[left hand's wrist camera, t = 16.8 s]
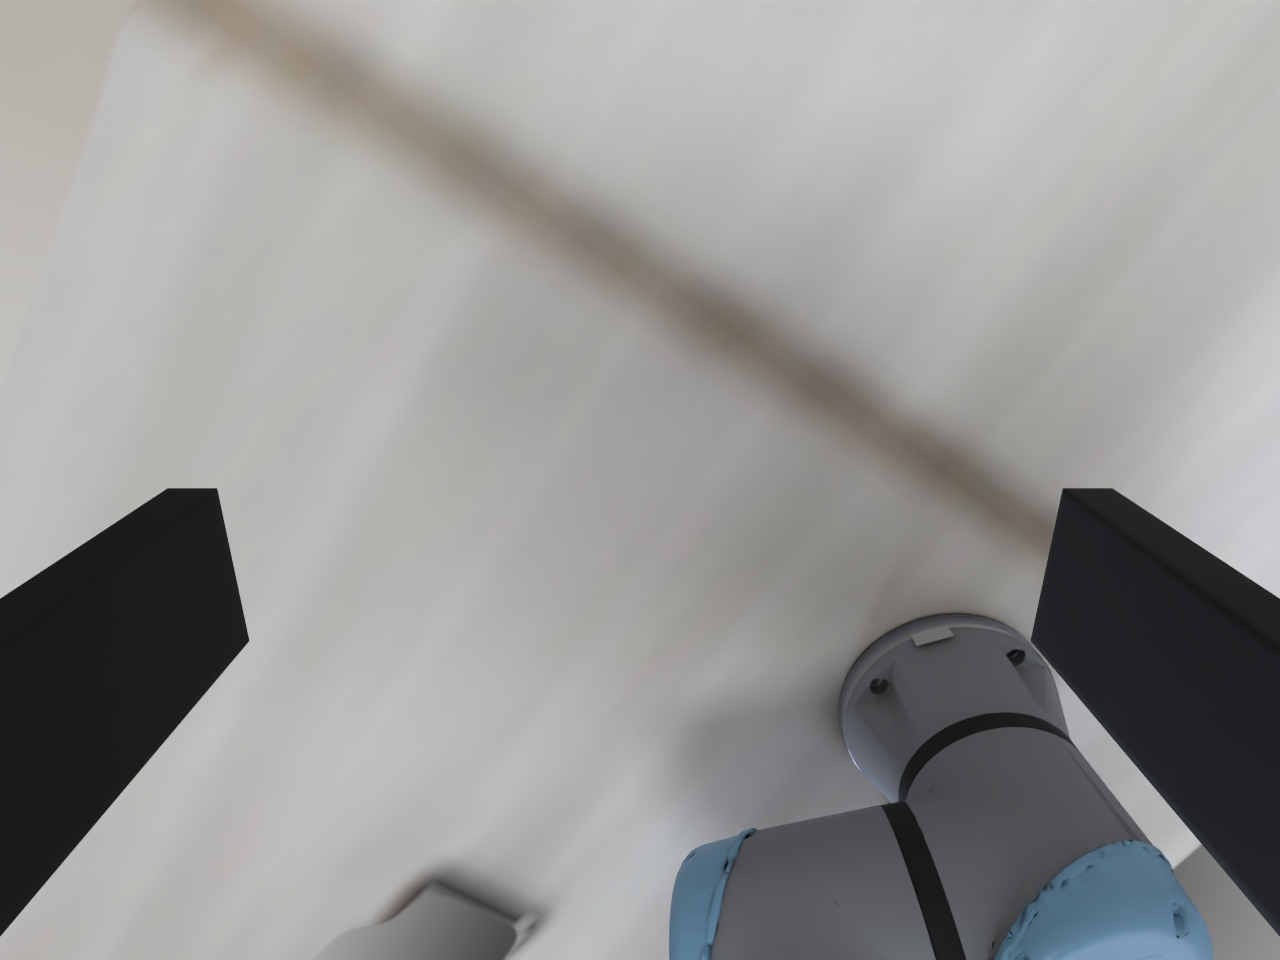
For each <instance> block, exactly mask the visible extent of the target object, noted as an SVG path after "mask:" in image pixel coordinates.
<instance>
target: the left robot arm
mask: <svg viewBox="0 0 1280 960" xmlns="http://www.w3.org/2000/svg"><path fill="white" fill-rule="evenodd" d="M248 642H249V637H248V633H247V628H246V623H245V618H244V614H243V609H242V604H241V599H240V595H239V590H238V585H237V580H236V576H235V571H234V566H233V562H232V557H231V552H230V547H229V543H228V538H227V533H226V528H225V524H224V519H223V514H222V509H221V505H220V500H219V495H218V491H217V488H168V489H166V490H165V491H163V492H162V493H160V494H159V495H157V496H156V497H154V498H152V499H151V500H149V501H148V502H146V503H145V504H143V505H142V506H140V507H139V508H137V509H136V510H134V511H133V512H131V513H130V514H128V515H127V516H125V517H124V518H122V519H121V520H119V521H118V522H116V523H115V524H113V525H112V526H110V527H108V528H107V529H105V530H104V531H102V532H101V533H99V534H98V535H96V536H95V537H93V538H92V539H90V540H89V541H87V542H86V543H84V544H83V545H81V546H80V547H78V548H77V549H75V550H74V551H72V552H71V553H69V554H68V555H66V556H64V557H63V558H61V559H60V560H58V561H57V562H55V563H54V564H52V565H51V566H49V567H48V568H46V569H45V570H43V571H42V572H40V573H39V574H37V575H36V576H34V577H33V578H31V579H30V580H28V581H27V582H25V583H24V584H22V585H20V586H19V587H17V588H16V589H14V590H13V591H11V592H10V593H8V594H7V595H5V596H4V597H2V598H1V599H0V936H1V935H2V934H3V933H4V931H5V930H6V929H7V928H8V927H9V925H10V924H11V923H12V922H13V921H14V919H15V918H16V917H17V916H18V915H19V914H20V912H21V911H22V910H23V909H24V908H25V906H26V905H27V904H28V903H29V902H30V900H31V899H32V898H33V897H34V896H35V895H36V893H37V892H38V891H39V890H40V889H41V887H42V886H43V885H44V884H45V883H46V881H47V880H48V879H49V878H50V877H51V876H52V874H53V873H54V872H55V871H56V870H57V868H58V867H59V866H60V865H61V864H62V862H63V861H64V860H65V859H66V858H67V857H68V855H69V854H70V853H71V852H72V851H73V849H74V848H75V847H76V846H77V845H78V843H79V842H80V841H81V840H82V839H83V838H84V836H85V835H86V834H87V833H88V832H89V830H90V829H91V828H92V827H93V826H94V825H95V823H96V822H97V821H98V820H99V819H100V817H101V816H102V815H103V814H104V813H105V811H106V810H107V809H108V808H109V807H110V806H111V804H112V803H113V802H114V801H115V800H116V798H117V797H118V796H119V795H120V794H121V792H122V791H123V790H124V789H125V788H126V787H127V785H128V784H129V783H130V782H131V781H132V779H133V778H134V777H135V776H136V775H137V773H138V772H139V771H140V770H141V769H142V768H143V766H144V765H145V764H146V763H147V762H148V760H149V759H150V758H151V757H152V756H153V754H154V753H155V752H156V751H157V750H158V749H159V747H160V746H161V745H162V744H163V743H164V741H165V740H166V739H167V738H168V737H169V736H170V734H171V733H172V732H173V731H174V730H175V728H176V727H177V726H178V725H179V724H180V722H181V721H182V720H183V719H184V718H185V717H186V715H187V714H188V713H189V712H190V711H191V709H192V708H193V707H194V706H195V705H196V703H197V702H198V701H199V700H200V699H201V698H202V696H203V695H204V694H205V693H206V692H207V690H208V689H209V688H210V687H211V686H212V684H213V683H214V682H215V681H216V680H217V679H218V677H219V676H220V675H221V674H222V673H223V671H224V670H225V669H226V668H227V667H228V665H229V664H230V663H231V662H232V661H233V660H234V658H235V657H236V656H237V655H238V654H239V652H240V651H241V650H242V649H243V648H244V647H245V645H246V644H247V643H248ZM1031 642H1032V643H1033V644H1034V645H1035V647H1036V648H1037V649H1038V650H1039V651H1040V652H1041V654H1042V655H1043V656H1044V657H1045V658H1046V660H1047V661H1048V662H1049V663H1050V664H1051V665H1052V667H1053V668H1054V669H1055V670H1056V671H1057V673H1058V674H1059V675H1060V676H1061V677H1062V679H1063V680H1064V681H1065V682H1066V683H1067V684H1068V686H1069V687H1070V688H1071V689H1072V690H1073V692H1074V693H1075V694H1076V695H1077V696H1078V698H1079V699H1080V700H1081V701H1082V702H1083V703H1084V705H1085V706H1086V707H1087V708H1088V709H1089V711H1090V712H1091V713H1092V714H1093V715H1094V717H1095V718H1096V719H1097V720H1098V721H1099V722H1100V724H1101V725H1102V726H1103V727H1104V728H1105V730H1106V731H1107V732H1108V733H1109V734H1110V736H1111V737H1112V738H1113V739H1114V740H1115V741H1116V743H1117V744H1118V745H1119V746H1120V747H1121V749H1122V750H1123V751H1124V752H1125V753H1126V754H1127V756H1128V757H1129V758H1130V759H1131V760H1132V762H1133V763H1134V764H1135V765H1136V766H1137V768H1138V769H1139V770H1140V771H1141V772H1142V773H1143V775H1144V776H1145V777H1146V778H1147V779H1148V781H1149V782H1150V783H1151V784H1152V785H1153V787H1154V788H1155V789H1156V790H1157V791H1158V792H1159V794H1160V795H1161V796H1162V797H1163V798H1164V800H1165V801H1166V802H1167V803H1168V804H1169V806H1170V807H1171V808H1172V809H1173V810H1174V811H1175V813H1176V814H1177V815H1178V816H1179V817H1180V819H1181V820H1182V821H1183V822H1184V823H1185V825H1186V826H1187V827H1188V828H1189V829H1190V830H1191V832H1192V833H1193V834H1194V835H1195V836H1196V838H1197V839H1198V840H1199V841H1200V842H1201V843H1202V845H1203V846H1204V847H1205V848H1206V849H1207V851H1208V852H1209V853H1210V854H1211V855H1212V856H1213V858H1214V859H1215V860H1216V861H1217V862H1218V864H1219V865H1220V866H1221V867H1222V868H1223V870H1224V871H1225V872H1226V873H1227V874H1228V876H1229V877H1230V878H1231V879H1232V880H1233V881H1234V883H1235V884H1236V885H1237V886H1238V887H1239V889H1240V890H1241V891H1242V892H1243V893H1244V895H1245V896H1246V897H1247V898H1248V899H1249V900H1250V902H1251V903H1252V904H1253V905H1254V906H1255V908H1256V909H1257V910H1258V911H1259V912H1260V914H1261V915H1262V916H1263V917H1264V918H1265V919H1266V921H1267V922H1268V923H1269V924H1270V925H1271V927H1272V928H1273V929H1274V930H1275V931H1276V932H1277V934H1278V935H1279V936H1280V599H1279V598H1278V597H1276V596H1275V595H1273V594H1272V593H1270V592H1269V591H1267V590H1266V589H1264V588H1263V587H1261V586H1260V585H1258V584H1256V583H1255V582H1253V581H1252V580H1250V579H1249V578H1247V577H1246V576H1244V575H1243V574H1241V573H1240V572H1238V571H1237V570H1235V569H1234V568H1232V567H1231V566H1229V565H1228V564H1226V563H1225V562H1223V561H1222V560H1220V559H1219V558H1217V557H1216V556H1214V555H1212V554H1211V553H1209V552H1208V551H1206V550H1205V549H1203V548H1202V547H1200V546H1199V545H1197V544H1196V543H1194V542H1193V541H1191V540H1190V539H1188V538H1187V537H1185V536H1184V535H1182V534H1181V533H1179V532H1178V531H1176V530H1175V529H1173V528H1172V527H1170V526H1168V525H1167V524H1165V523H1164V522H1162V521H1161V520H1159V519H1158V518H1156V517H1155V516H1153V515H1152V514H1150V513H1149V512H1147V511H1146V510H1144V509H1143V508H1141V507H1140V506H1138V505H1137V504H1135V503H1134V502H1132V501H1131V500H1129V499H1128V498H1126V497H1124V496H1123V495H1121V494H1120V493H1118V492H1117V491H1115V490H1114V489H1112V488H1063V491H1062V495H1061V500H1060V505H1059V509H1058V514H1057V519H1056V524H1055V528H1054V533H1053V538H1052V543H1051V547H1050V552H1049V557H1048V562H1047V566H1046V571H1045V576H1044V580H1043V585H1042V590H1041V595H1040V599H1039V604H1038V609H1037V614H1036V618H1035V623H1034V628H1033V633H1032V637H1031ZM838 714H839V724H840V728H841V732H842V735H843V738H844V740H845V743H846V746H847V748H848V751H849V753H850V756H851V757H852V759H853V761H854V763H855V764H856V765H857V767H858V768H859V769H860V770H861V772H862V773H863V774H864V775H865V777H866V778H867V779H868V780H869V781H870V782H871V783H872V784H873V785H874V786H875V787H876V788H877V789H878V790H879V791H880V792H881V793H882V794H883V795H884V796H885V797H886V798H887V799H888V800H889V801H890V802H891V804H886V805H879V806H874V807H869V808H864V809H860V810H855V811H850V812H845V813H840V814H835V815H830V816H825V817H820V818H815V819H811V820H806V821H801V822H796V823H791V824H786V825H781V826H776V827H771V828H767V829H762V830H757V829H755V828H752V829H747V830H745V831H743V832H742V833H741V834H740V835H739V836H735V837H731V838H727V839H724V840H720V841H716V842H712V843H709V844H705V845H701V846H699V847H697V848H696V849H694V850H693V851H691V852H690V853H689V855H688V856H687V857H686V859H685V860H684V861H683V863H682V865H681V868H680V869H679V872H678V873H677V876H676V880H675V884H674V889H673V894H672V901H671V911H670V927H669V960H1214V958H1213V946H1212V941H1211V937H1210V934H1209V931H1208V928H1207V926H1206V924H1205V922H1204V920H1203V918H1202V916H1201V914H1200V913H1199V911H1198V910H1197V908H1196V907H1195V905H1194V904H1193V902H1192V901H1191V899H1190V898H1189V897H1188V895H1187V894H1186V892H1185V891H1184V889H1183V888H1182V886H1181V885H1180V883H1179V882H1178V880H1177V879H1176V876H1175V874H1174V872H1173V870H1172V867H1171V865H1170V863H1169V861H1168V860H1167V859H1166V858H1165V856H1164V855H1163V854H1162V852H1161V851H1160V850H1159V849H1158V848H1156V847H1155V846H1153V845H1152V843H1151V842H1150V841H1149V840H1148V838H1147V837H1146V836H1145V834H1144V833H1143V832H1142V831H1141V829H1140V828H1139V827H1138V826H1137V824H1136V823H1135V822H1134V820H1133V819H1132V818H1131V817H1130V815H1129V814H1128V813H1127V812H1126V810H1125V809H1124V808H1123V806H1122V805H1121V804H1120V803H1119V801H1118V800H1117V799H1116V797H1115V796H1114V795H1113V794H1112V792H1111V791H1110V790H1109V789H1108V787H1107V786H1106V785H1105V783H1104V782H1103V781H1102V780H1101V778H1100V777H1099V776H1098V775H1097V773H1096V772H1095V771H1094V769H1093V768H1092V767H1091V766H1090V764H1089V763H1088V762H1087V760H1086V759H1085V758H1084V757H1083V755H1082V754H1081V753H1080V752H1079V750H1078V749H1077V748H1076V746H1075V745H1074V744H1073V742H1072V741H1071V740H1070V737H1069V733H1068V730H1067V726H1066V722H1065V718H1064V714H1063V710H1062V706H1061V702H1060V698H1059V694H1058V690H1057V687H1056V684H1055V681H1054V678H1053V676H1052V674H1051V671H1050V670H1049V668H1048V666H1047V664H1046V663H1045V662H1044V660H1043V659H1042V658H1041V656H1040V655H1039V654H1038V653H1037V652H1036V650H1035V649H1034V648H1033V647H1032V646H1031V644H1030V643H1029V642H1028V641H1027V640H1026V639H1025V638H1024V637H1022V636H1021V635H1020V634H1019V633H1018V632H1016V631H1015V630H1013V629H1011V628H1010V627H1008V626H1006V625H1004V624H1002V623H1000V622H997V621H994V620H992V619H988V618H984V617H980V616H974V615H964V614H950V615H939V616H934V617H928V618H925V619H921V620H917V621H914V622H912V623H909V624H906V625H904V626H902V627H900V628H898V629H896V630H894V631H892V632H890V633H889V634H887V635H886V636H884V637H882V638H881V639H880V640H878V641H877V642H876V643H874V644H873V645H872V646H871V647H870V648H869V649H868V650H867V651H866V652H865V653H864V654H863V655H862V656H861V657H860V658H859V659H858V661H857V662H856V663H855V665H854V666H853V667H852V669H851V671H850V672H849V674H848V676H847V678H846V680H845V682H844V685H843V688H842V691H841V695H840V699H839V708H838Z"/></svg>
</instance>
